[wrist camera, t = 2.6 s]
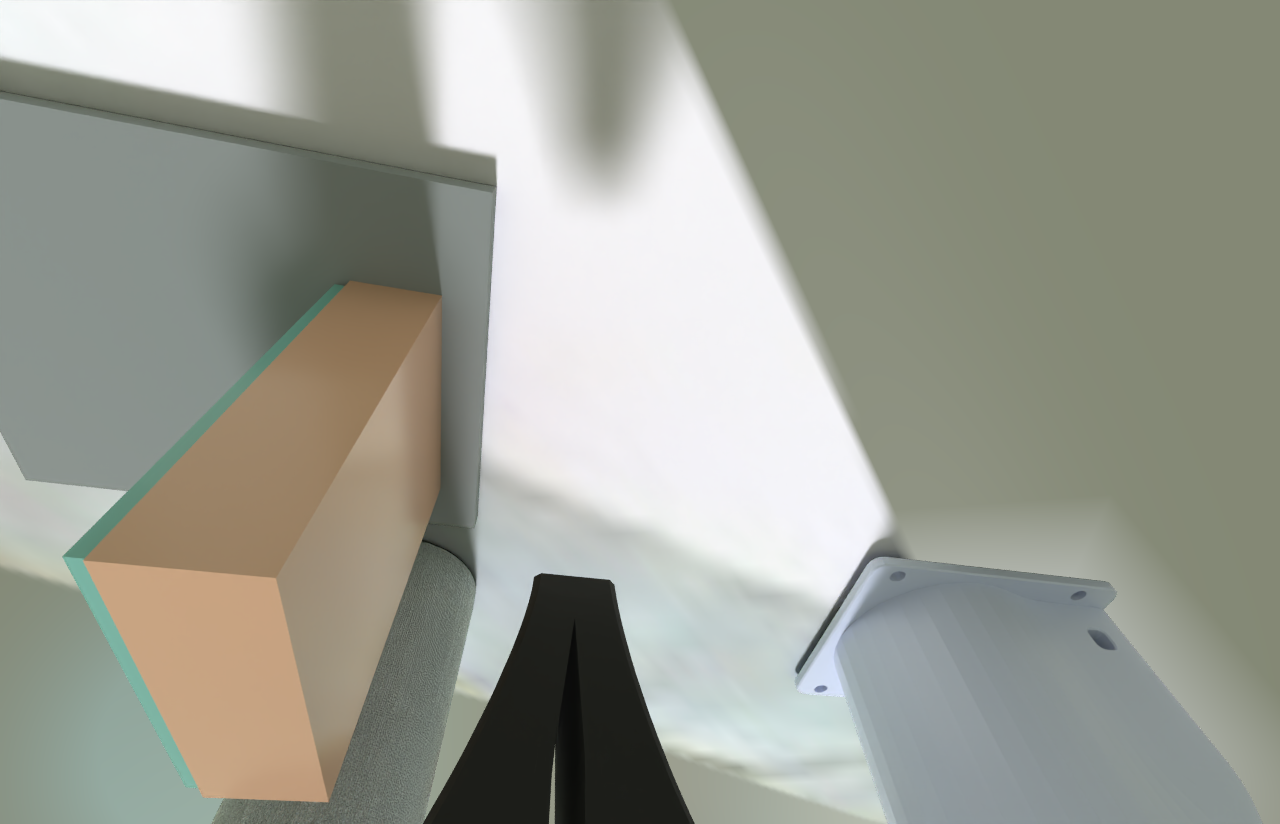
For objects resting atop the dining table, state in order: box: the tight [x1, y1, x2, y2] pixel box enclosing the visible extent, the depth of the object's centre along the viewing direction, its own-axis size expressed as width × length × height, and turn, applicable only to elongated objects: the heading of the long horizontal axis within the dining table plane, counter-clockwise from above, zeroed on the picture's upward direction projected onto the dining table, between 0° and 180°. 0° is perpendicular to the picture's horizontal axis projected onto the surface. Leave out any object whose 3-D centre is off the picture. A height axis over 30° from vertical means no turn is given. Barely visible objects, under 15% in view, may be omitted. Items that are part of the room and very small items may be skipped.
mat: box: [0, 91, 496, 528], centre depth 14 cm, size 12×10×1 cm
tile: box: [63, 281, 442, 802], centre depth 11 cm, size 2×6×8 cm, turn 169°
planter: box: [212, 542, 476, 824], centre depth 15 cm, size 4×4×10 cm
